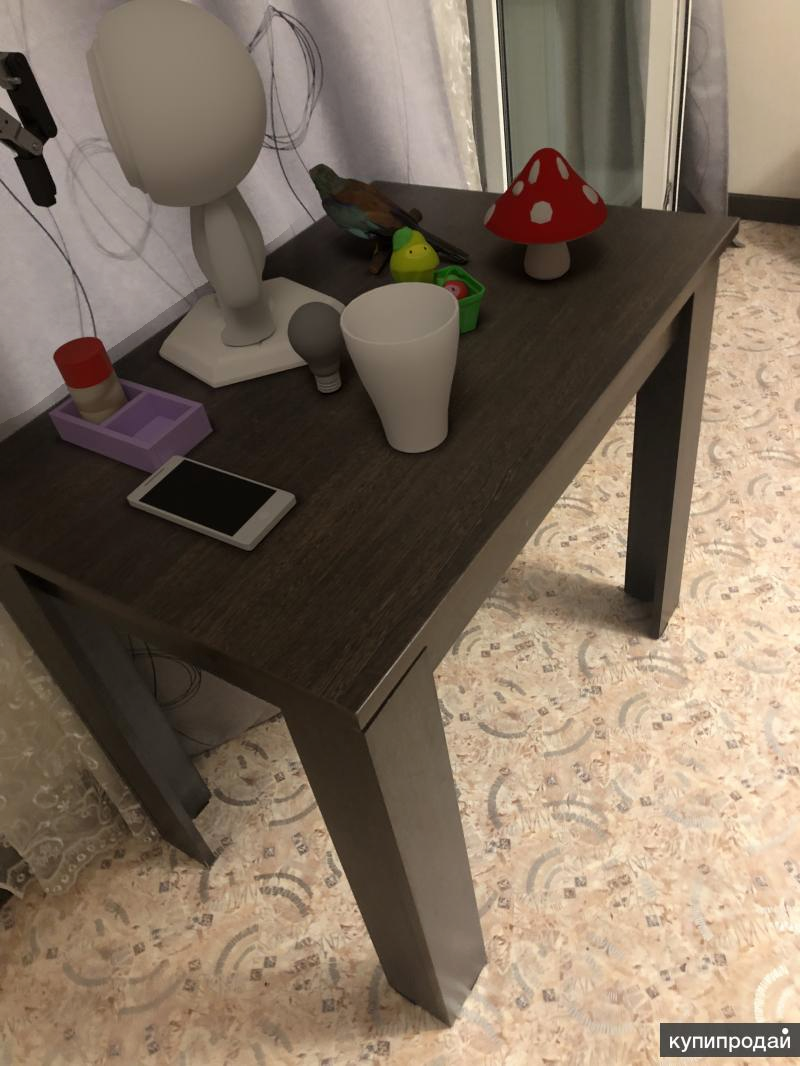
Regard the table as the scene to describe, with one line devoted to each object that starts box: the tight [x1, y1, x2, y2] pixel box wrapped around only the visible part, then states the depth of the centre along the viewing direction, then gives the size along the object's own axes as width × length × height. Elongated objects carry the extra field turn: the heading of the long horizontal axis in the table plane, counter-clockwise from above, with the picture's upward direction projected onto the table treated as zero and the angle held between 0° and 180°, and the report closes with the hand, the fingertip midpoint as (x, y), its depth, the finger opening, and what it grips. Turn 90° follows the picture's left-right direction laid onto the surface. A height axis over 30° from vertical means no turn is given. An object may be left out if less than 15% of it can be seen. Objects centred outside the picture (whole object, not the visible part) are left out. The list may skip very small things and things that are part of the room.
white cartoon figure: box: [85, 0, 346, 389], centre depth 86 cm, size 20×23×35 cm
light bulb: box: [287, 302, 346, 394], centre depth 84 cm, size 6×6×10 cm
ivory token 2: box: [79, 393, 129, 425], centre depth 87 cm, size 5×5×3 cm
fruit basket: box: [389, 227, 486, 335], centre depth 90 cm, size 11×9×11 cm
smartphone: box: [126, 455, 297, 551], centre depth 76 cm, size 7×16×1 cm, turn 59°
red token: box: [52, 336, 114, 389], centre depth 83 cm, size 5×5×3 cm
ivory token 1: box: [64, 368, 124, 413], centre depth 85 cm, size 5×5×3 cm
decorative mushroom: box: [483, 147, 609, 281], centre depth 94 cm, size 14×14×15 cm
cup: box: [340, 282, 460, 454], centre depth 76 cm, size 10×10×14 cm
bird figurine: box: [308, 163, 470, 275], centre depth 104 cm, size 13×10×20 cm
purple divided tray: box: [48, 376, 214, 475], centre depth 85 cm, size 8×15×4 cm, turn 57°
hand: (3, 227), depth 63 cm, fingers open, 8 cm apart
